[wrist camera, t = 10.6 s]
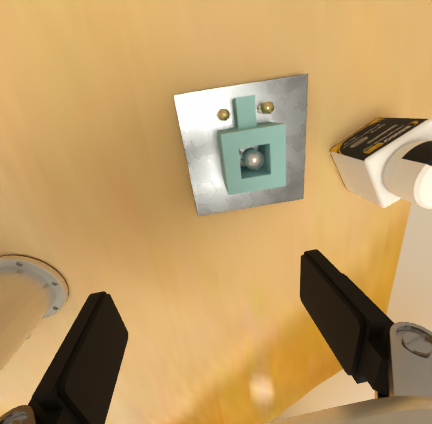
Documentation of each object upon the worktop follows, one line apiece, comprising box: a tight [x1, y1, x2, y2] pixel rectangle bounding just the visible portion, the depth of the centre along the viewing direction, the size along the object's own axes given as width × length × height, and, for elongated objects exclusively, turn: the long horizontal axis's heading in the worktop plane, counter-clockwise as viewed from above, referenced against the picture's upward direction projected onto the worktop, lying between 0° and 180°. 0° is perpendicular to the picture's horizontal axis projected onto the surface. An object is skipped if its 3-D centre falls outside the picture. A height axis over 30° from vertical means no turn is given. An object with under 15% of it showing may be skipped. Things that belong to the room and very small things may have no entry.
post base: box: [174, 74, 308, 216], centre depth 25 cm, size 15×15×6 cm
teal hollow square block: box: [217, 95, 286, 195], centre depth 24 cm, size 9×6×5 cm
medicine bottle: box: [330, 118, 432, 209], centre depth 24 cm, size 7×7×12 cm
